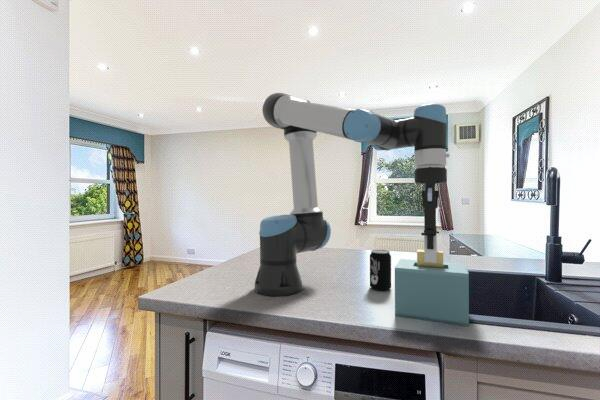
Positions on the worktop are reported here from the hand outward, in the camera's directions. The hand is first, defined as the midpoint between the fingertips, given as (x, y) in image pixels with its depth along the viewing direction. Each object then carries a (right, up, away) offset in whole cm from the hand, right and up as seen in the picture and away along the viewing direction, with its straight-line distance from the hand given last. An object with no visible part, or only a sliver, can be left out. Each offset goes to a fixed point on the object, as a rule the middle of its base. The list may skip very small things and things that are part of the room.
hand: (430, 260), depth 78 cm
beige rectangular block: (0, -6, 0) cm, 6 cm away
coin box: (0, -13, 0) cm, 13 cm away
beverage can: (-7, -13, +21) cm, 26 cm away
